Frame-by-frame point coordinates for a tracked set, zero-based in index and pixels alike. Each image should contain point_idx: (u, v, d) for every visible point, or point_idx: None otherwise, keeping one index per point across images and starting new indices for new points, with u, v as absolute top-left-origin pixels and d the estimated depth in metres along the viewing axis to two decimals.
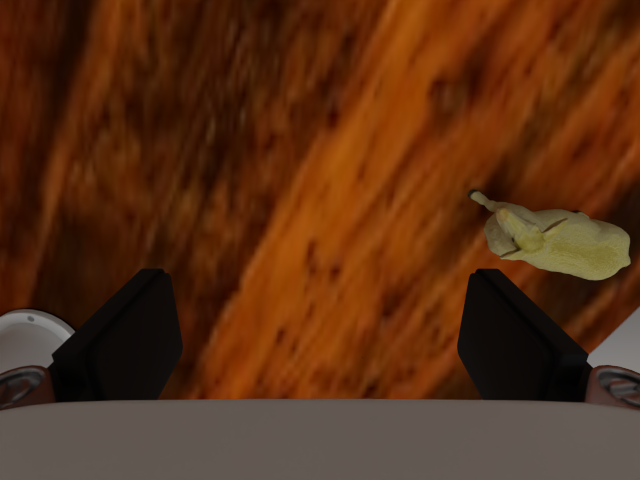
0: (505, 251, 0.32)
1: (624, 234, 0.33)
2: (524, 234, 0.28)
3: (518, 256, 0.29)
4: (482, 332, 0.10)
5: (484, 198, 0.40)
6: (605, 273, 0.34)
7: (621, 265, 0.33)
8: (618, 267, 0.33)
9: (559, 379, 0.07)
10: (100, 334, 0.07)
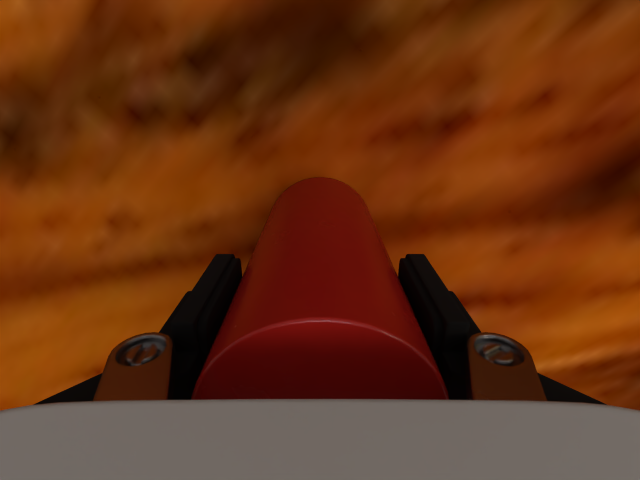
0: None
1: None
2: None
3: None
4: None
5: None
6: None
7: None
8: None
9: (447, 345, 0.08)
10: (203, 307, 0.08)
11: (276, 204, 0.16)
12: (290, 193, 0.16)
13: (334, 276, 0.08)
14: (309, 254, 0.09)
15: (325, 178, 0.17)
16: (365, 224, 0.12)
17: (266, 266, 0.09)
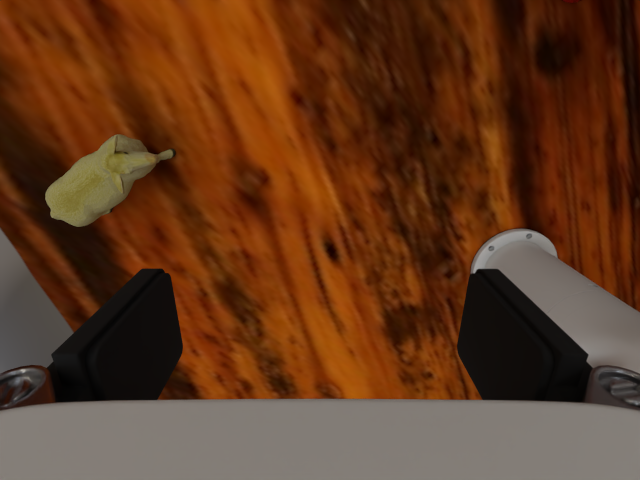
0: None
1: (81, 224, 0.42)
2: (126, 162, 0.35)
3: (109, 148, 0.34)
4: (482, 332, 0.10)
5: (163, 157, 0.46)
6: (51, 198, 0.40)
7: (54, 211, 0.40)
8: (53, 208, 0.40)
9: (559, 379, 0.07)
10: (100, 334, 0.07)
11: None
12: None
13: None
14: None
15: None
16: None
17: None
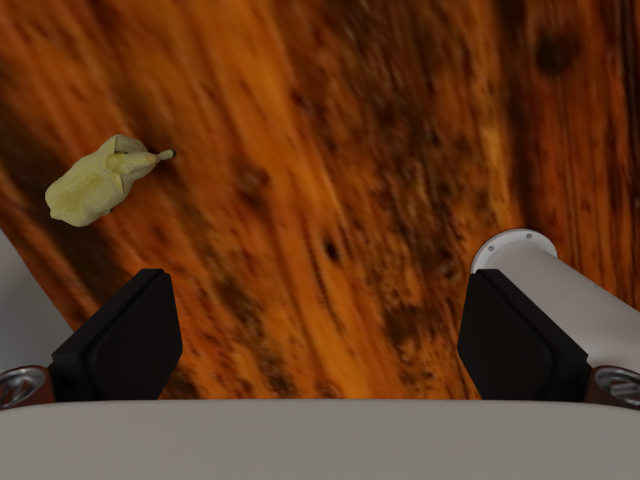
0: None
1: (81, 224, 0.42)
2: (126, 162, 0.35)
3: (109, 148, 0.34)
4: (482, 332, 0.10)
5: (163, 157, 0.46)
6: (51, 198, 0.40)
7: (54, 211, 0.40)
8: (53, 208, 0.40)
9: (559, 379, 0.07)
10: (100, 334, 0.07)
11: None
12: None
13: None
14: None
15: None
16: None
17: None
